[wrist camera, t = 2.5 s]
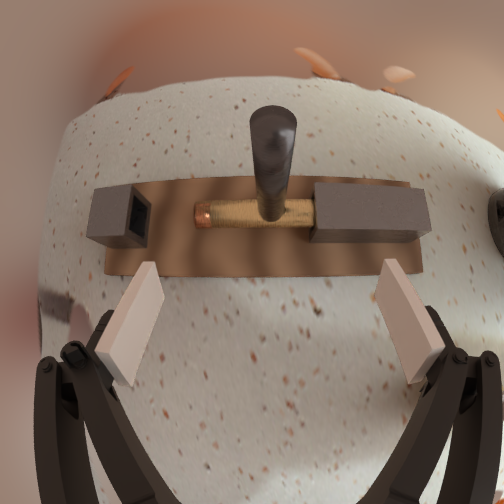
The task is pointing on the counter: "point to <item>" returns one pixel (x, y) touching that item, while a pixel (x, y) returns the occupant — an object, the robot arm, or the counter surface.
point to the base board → (248, 237)
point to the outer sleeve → (368, 213)
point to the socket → (119, 217)
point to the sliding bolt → (263, 181)
